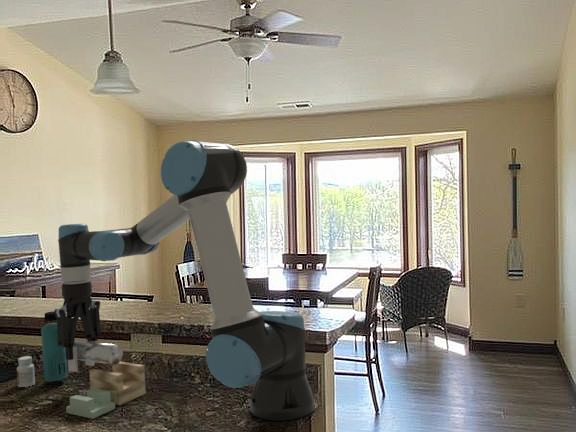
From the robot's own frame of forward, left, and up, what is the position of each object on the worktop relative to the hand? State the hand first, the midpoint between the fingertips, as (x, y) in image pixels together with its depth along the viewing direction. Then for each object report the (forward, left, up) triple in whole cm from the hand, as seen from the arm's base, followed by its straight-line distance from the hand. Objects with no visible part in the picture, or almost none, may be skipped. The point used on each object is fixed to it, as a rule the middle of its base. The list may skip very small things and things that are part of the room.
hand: (81, 367), depth 156 cm
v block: (-13, +10, -6) cm, 18 cm away
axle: (-6, 0, +5) cm, 8 cm away
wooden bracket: (-13, 0, -6) cm, 14 cm away
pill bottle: (+18, +4, -6) cm, 19 cm away
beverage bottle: (+12, -1, -6) cm, 13 cm away
